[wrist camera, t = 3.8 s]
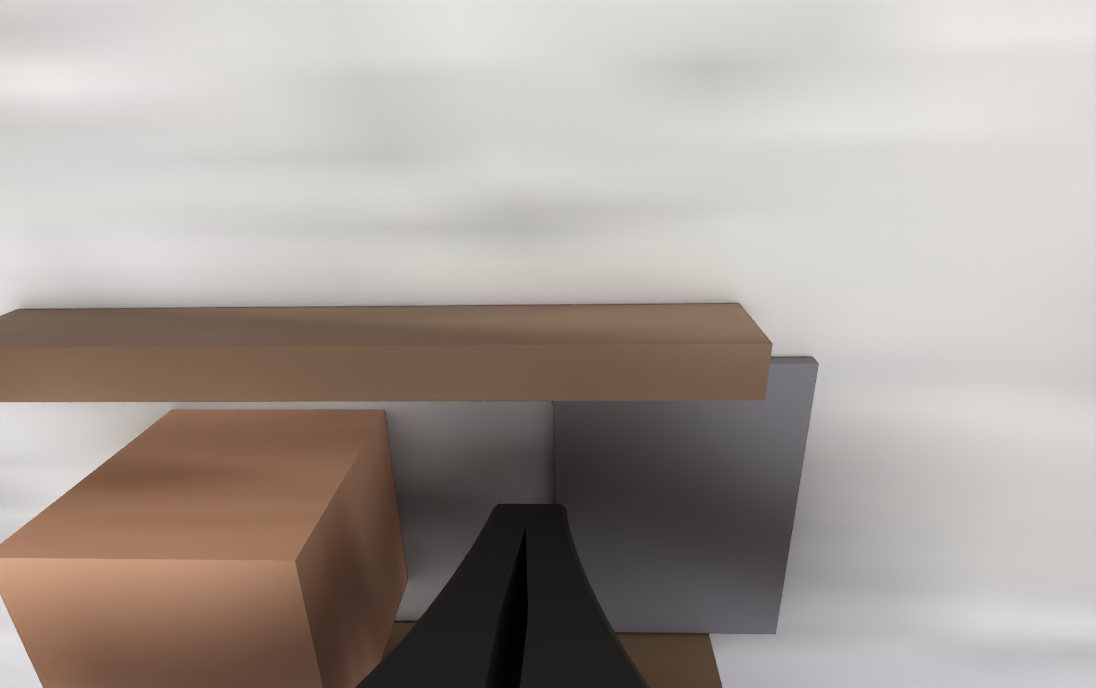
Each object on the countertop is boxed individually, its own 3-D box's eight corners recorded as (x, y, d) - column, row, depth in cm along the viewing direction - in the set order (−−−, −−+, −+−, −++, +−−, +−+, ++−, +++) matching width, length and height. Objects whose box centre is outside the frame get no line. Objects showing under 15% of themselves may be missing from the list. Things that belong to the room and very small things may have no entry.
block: (408, 577, 14) (342, 774, 10) (221, 575, 15) (80, 768, 10) (385, 407, 13) (294, 560, 8) (174, 408, 13) (-17, 558, 9)
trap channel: (766, 658, 15) (794, 738, 13) (141, 649, 15) (82, 725, 13) (821, 302, 11) (869, 343, 10) (17, 309, 12) (-84, 348, 10)
